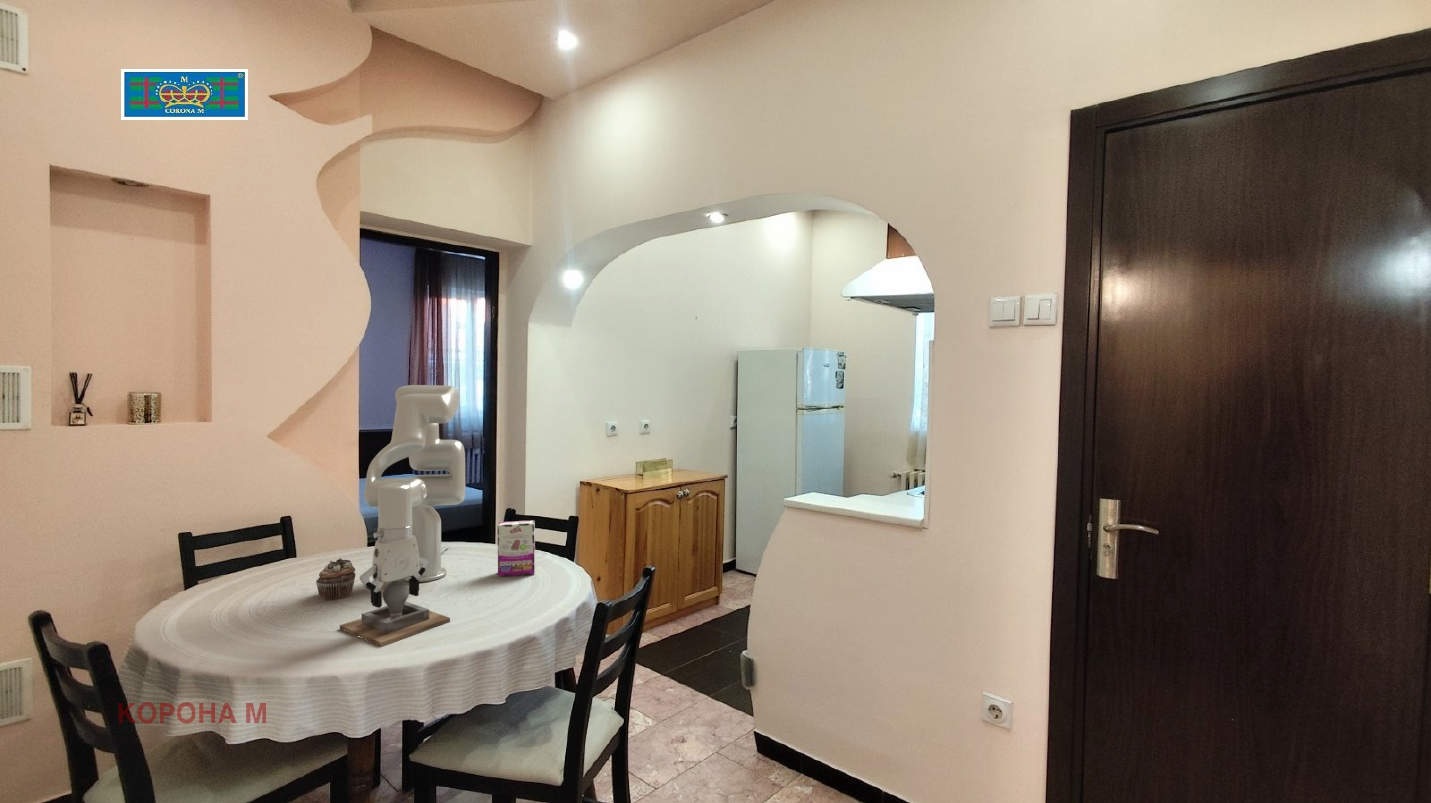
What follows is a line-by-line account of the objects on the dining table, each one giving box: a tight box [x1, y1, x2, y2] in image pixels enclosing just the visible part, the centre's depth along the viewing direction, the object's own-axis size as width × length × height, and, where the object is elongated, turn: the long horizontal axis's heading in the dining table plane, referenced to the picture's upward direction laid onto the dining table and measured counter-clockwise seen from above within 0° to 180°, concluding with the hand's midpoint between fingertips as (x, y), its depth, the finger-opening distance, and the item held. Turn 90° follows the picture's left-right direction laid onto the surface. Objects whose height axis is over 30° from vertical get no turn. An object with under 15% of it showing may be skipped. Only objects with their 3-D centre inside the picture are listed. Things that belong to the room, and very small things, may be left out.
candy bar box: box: [497, 520, 536, 577], centre depth 201 cm, size 11×5×16 cm, turn 104°
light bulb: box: [382, 580, 410, 620], centre depth 159 cm, size 6×6×10 cm
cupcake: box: [315, 558, 356, 601], centre depth 180 cm, size 10×10×10 cm
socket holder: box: [339, 601, 451, 648], centre depth 159 cm, size 18×18×4 cm
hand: (395, 600), depth 159 cm, fingers open, 9 cm apart
